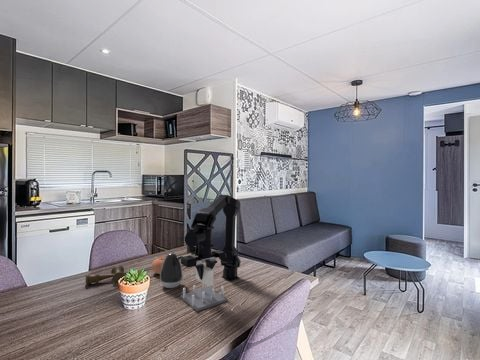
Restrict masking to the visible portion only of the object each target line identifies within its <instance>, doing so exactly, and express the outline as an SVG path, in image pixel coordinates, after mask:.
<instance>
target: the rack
mask: <svg viewBox="0 0 480 360" xmlns="http://www.w3.org/2000/svg"><path fill="white" fill-rule="evenodd" d="M220 287H221V290H220V291H221V292H220V293H219V292H217V291H216V290H215V280H214V279H213V285H211V286H207V287H206V285H205V284H203V283H202V288H200V289H197V290H196V288H197V287H196V285H195V284H194V285H192V291H190V292H186V289H187V288H186V287H183V288H182V294H180V299H181V300H183V301H184V302H185V303H186V304H187V305H188V306H189V307H191V308H192V309H194V311H196V312H200V311H203V310H206V309H208V308H211V307H213V306H217V305H220V304H222V303H225V302H228V298H227V297H225V295H224V293H225V292H224V291H225V290H224V289H225V286H224V285H221V286H220Z"/></svg>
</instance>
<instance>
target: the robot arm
mask: <svg viewBox="0 0 480 360" xmlns="http://www.w3.org/2000/svg"><path fill="white" fill-rule="evenodd" d="M240 208H241V203H240V201H239V199H236V198H234V197H232V196H231V195H229V194H219V195H218V197H217V198H216V199H215V200H214V201H213V202H212V203H210V204H209V206H207V207H204V208H200V209H199V210H198V211H197V212H196V214H195V216H194V218H193V220H192V223H191V225H190V228H189V230H188V232H187V233H186V234H185V236H184V242H185V244H186V245H187V246H186V253H187V254H190V255H185V256H183V257H182V258H181V259H180V263H181V266H184V267H186V268H192V267H195V270H196V269H197V272H198V274H199V277H200V279H201V280H202V278H203V270H204V265H205V266H207V267H209V268H211V269H212V270H214V268H215V265H216V264H217V263H218V260H217V259H216V258H218V259H219V260H220V265H221V266H222V267H223V269H222V271H223V272H222V273H223V274H222V275H221V277H222V278H223V279H224V280H227V281H234V280H237V279H240V276H238V268H240V266H241V259H240V257H239V255H238V254H239V253H238V250H237V248H236V246H235V245H236V244H235V241H236V219H237V216H238V214H239V213H240ZM221 211H222V212H223V214H224V216H225V228H224V229H225V231H224V232H225V234H224V238H225V239H224V246H223V248H222V249H217V250H213V251H212V248H214V244H213V242H212V240H213V237H212V236H213V235H212V234H213V232H212V231H213V230H214V229H215V226H213V225H214V223H215V221H216V220H217V215H218V214H219V213H220V212H221ZM192 255H193V256H192ZM194 256H195V257H194ZM203 261H204V263H205V264H203Z"/></svg>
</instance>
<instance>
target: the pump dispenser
mask: <svg viewBox="0 0 480 360" xmlns="http://www.w3.org/2000/svg"><path fill="white" fill-rule="evenodd" d="M165 257H166V258H165ZM165 257H164V258H165V260H164V262H163V265H162V268H161V273H160V274H159V280H160V283H161V285H162V286H163V287H164V288H167V289H174V288H177V287H178V286H180V285H181V284H182V280H183V278H184V273H183V265H182V264H181V259H182V257H184V256H183V255H180V256H178V255H177V254H176V253H174V252H170V253H168V254H167V255H166V256H165Z"/></svg>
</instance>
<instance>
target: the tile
mask: <svg viewBox="0 0 480 360" xmlns="http://www.w3.org/2000/svg"><path fill="white" fill-rule="evenodd" d="M203 265H204V270H203V278H202V280H201V279H200V277H199V274H198V272H197V269H196V268H195V279H196V280H197V281H198V282H200V283H202V285H203V284H205V286H207V287H211V286H212V285H213V280H214V269H211V268H209V267H207V266H206V264H203Z"/></svg>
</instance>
